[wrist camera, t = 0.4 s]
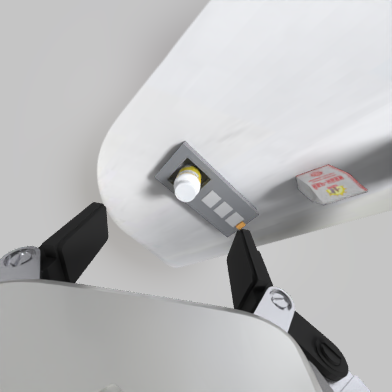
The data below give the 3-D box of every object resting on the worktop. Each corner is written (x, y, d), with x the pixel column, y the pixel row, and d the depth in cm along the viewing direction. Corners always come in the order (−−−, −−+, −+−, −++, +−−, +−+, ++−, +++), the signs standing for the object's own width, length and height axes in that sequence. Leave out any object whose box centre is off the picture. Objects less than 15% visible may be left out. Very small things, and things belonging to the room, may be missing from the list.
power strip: (255, 208, 42) (259, 216, 39) (226, 229, 46) (227, 238, 42) (185, 140, 35) (182, 143, 32) (157, 172, 39) (153, 178, 36)
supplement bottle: (194, 189, 41) (190, 210, 32) (175, 178, 40) (165, 197, 31) (205, 171, 38) (205, 188, 30) (185, 159, 37) (178, 173, 29)
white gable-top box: (330, 179, 37) (368, 200, 28) (298, 189, 39) (325, 212, 30) (328, 164, 36) (368, 181, 27) (295, 176, 37) (322, 196, 28)
